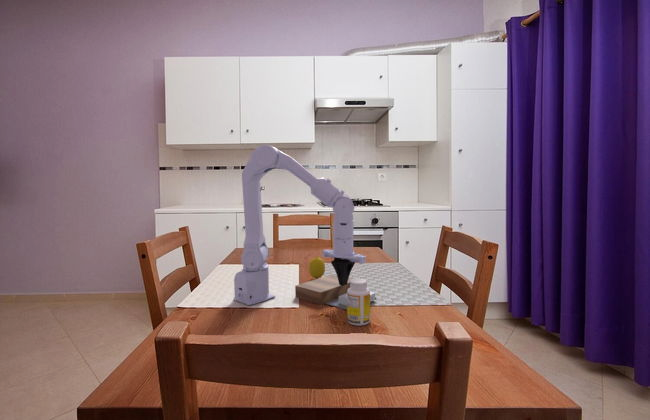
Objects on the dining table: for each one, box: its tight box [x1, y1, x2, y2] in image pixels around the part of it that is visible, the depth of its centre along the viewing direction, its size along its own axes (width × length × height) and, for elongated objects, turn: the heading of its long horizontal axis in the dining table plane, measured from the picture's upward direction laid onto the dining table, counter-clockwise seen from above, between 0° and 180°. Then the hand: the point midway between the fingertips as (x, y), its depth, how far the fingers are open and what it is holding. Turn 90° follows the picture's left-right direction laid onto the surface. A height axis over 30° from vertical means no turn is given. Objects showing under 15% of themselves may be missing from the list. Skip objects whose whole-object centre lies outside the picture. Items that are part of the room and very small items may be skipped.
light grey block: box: [339, 291, 376, 306], centre depth 104 cm, size 9×6×2 cm, turn 139°
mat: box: [325, 296, 377, 311], centre depth 106 cm, size 13×8×1 cm, turn 139°
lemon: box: [308, 256, 326, 280], centre depth 128 cm, size 6×6×8 cm
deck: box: [294, 274, 354, 306], centre depth 112 cm, size 16×10×4 cm, turn 139°
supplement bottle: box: [346, 278, 371, 327], centre depth 90 cm, size 6×6×10 cm
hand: (343, 284), depth 107 cm, fingers closed
